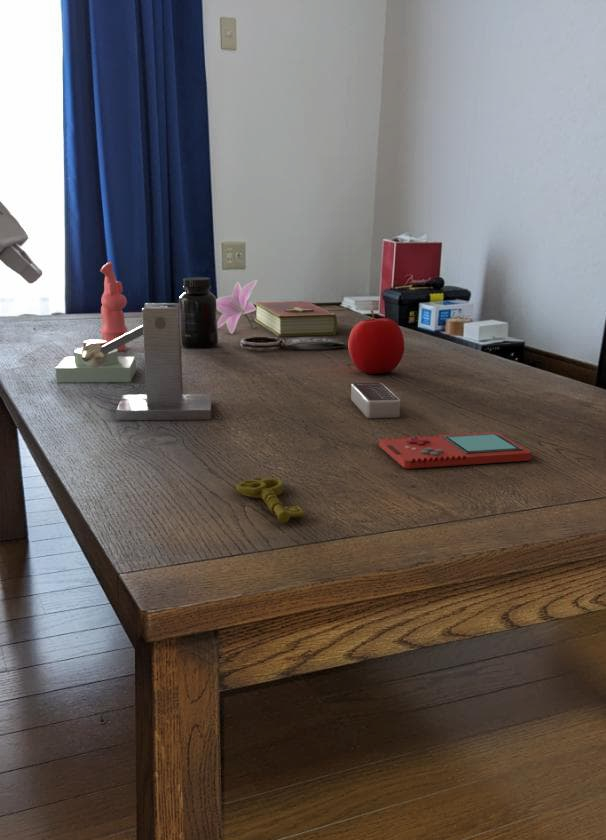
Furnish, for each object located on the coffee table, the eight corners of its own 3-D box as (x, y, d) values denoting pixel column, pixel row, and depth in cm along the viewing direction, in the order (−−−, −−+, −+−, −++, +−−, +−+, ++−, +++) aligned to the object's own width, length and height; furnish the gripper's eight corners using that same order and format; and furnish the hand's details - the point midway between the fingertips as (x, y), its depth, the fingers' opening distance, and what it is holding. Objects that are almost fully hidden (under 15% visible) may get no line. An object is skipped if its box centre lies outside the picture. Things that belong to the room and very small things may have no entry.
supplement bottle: (197, 340, 170) (195, 275, 166) (225, 344, 167) (224, 277, 162) (173, 345, 165) (170, 278, 161) (200, 350, 162) (198, 281, 157)
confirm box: (56, 382, 135) (54, 356, 134) (66, 370, 144) (64, 345, 142) (130, 382, 136) (128, 355, 135) (136, 370, 145) (134, 345, 143)
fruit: (351, 365, 150) (353, 304, 146) (405, 368, 149) (409, 306, 145) (342, 376, 142) (344, 311, 138) (399, 379, 140) (403, 314, 136)
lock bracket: (116, 420, 115) (109, 310, 110) (124, 403, 123) (117, 301, 118) (210, 419, 116) (207, 310, 111) (211, 403, 124) (208, 301, 119)
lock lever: (87, 374, 115) (74, 352, 114) (91, 369, 118) (78, 347, 117) (176, 328, 114) (164, 305, 113) (177, 324, 117) (165, 301, 116)
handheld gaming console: (378, 436, 105) (496, 429, 108) (378, 446, 105) (496, 439, 109) (405, 459, 97) (532, 450, 100) (405, 469, 97) (531, 461, 101)
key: (308, 509, 81) (253, 513, 80) (307, 522, 82) (254, 527, 80) (278, 472, 92) (230, 475, 91) (278, 484, 92) (230, 487, 91)
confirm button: (82, 355, 137) (81, 343, 136) (85, 350, 140) (85, 339, 139) (106, 354, 137) (105, 343, 136) (109, 350, 140) (108, 339, 140)
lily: (214, 329, 190) (197, 290, 183) (265, 306, 190) (249, 266, 183) (227, 356, 181) (210, 317, 174) (280, 332, 181) (265, 292, 175)
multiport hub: (367, 418, 117) (368, 401, 117) (350, 399, 127) (350, 382, 127) (400, 417, 118) (401, 400, 117) (380, 398, 128) (381, 382, 127)
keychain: (347, 350, 162) (347, 339, 162) (242, 352, 160) (242, 341, 159) (338, 343, 170) (339, 332, 169) (238, 345, 167) (237, 334, 166)
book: (307, 318, 198) (307, 299, 196) (336, 334, 179) (337, 312, 178) (254, 320, 195) (254, 300, 193) (278, 336, 176) (278, 314, 174)
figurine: (120, 352, 158) (114, 264, 153) (94, 350, 160) (88, 263, 154) (134, 348, 163) (129, 261, 157) (109, 346, 164) (103, 260, 159)
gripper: (-56, 172, 98) (41, 268, 103) (-17, 174, 117) (64, 255, 122) (-94, 214, 100) (5, 307, 104) (-49, 209, 118) (33, 288, 123)
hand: (37, 279), depth 113 cm, fingers closed
